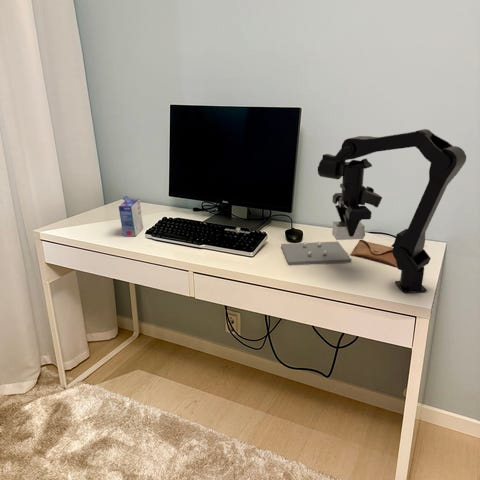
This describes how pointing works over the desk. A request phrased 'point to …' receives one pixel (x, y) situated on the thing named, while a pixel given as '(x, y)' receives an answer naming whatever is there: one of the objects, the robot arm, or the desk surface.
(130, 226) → the ink cartridge box
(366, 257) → the sunglasses case
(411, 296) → the desk surface
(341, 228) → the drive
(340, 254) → the pin tray
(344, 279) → the desk surface
